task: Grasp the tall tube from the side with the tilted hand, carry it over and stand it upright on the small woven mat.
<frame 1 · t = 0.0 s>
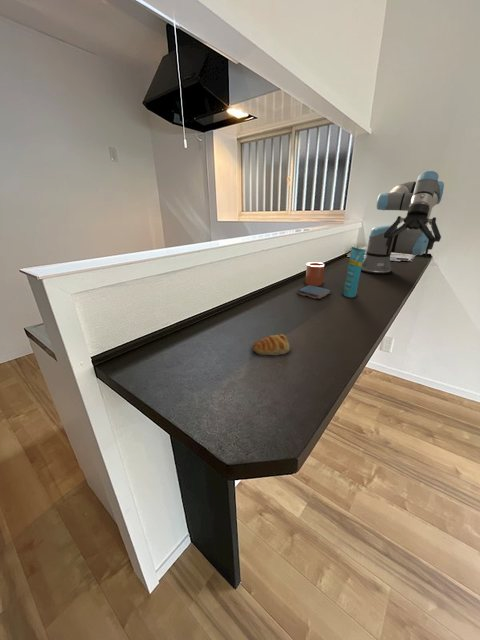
hand: (405, 254, 108), 15 cm above the breakfast bar, tool tilted 35°, fingers open, 13 cm apart
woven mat: (313, 294, 110), on the breakfast bar
pastry: (272, 350, 71), on the breakfast bar
cup: (313, 283, 123), on the breakfast bar
tube: (349, 296, 108), on the breakfast bar
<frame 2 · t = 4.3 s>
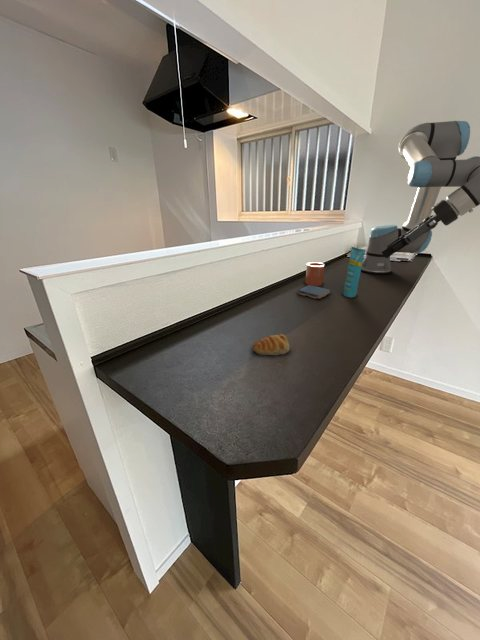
hand: (386, 252, 95), 19 cm above the breakfast bar, tool tilted 45°, fingers open, 13 cm apart
nothing on the breakfast bar moved.
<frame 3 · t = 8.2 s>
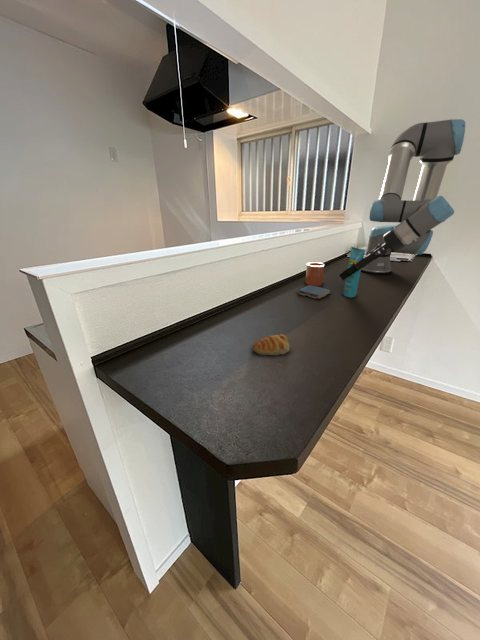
hand: (343, 275, 107), 8 cm above the breakfast bar, tool tilted 45°, fingers closed on tube, 5 cm apart
tube: (349, 296, 108), on the breakfast bar, touching gripper
everything else where it was.
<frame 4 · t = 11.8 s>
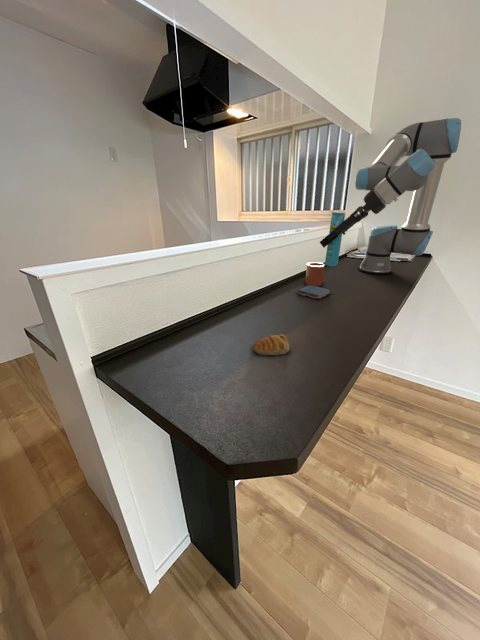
hand: (324, 243, 102), 20 cm above the breakfast bar, tool tilted 45°, fingers closed on tube, 5 cm apart
tube: (330, 265, 104), point 12 cm above the breakfast bar, touching gripper
everything else where it was.
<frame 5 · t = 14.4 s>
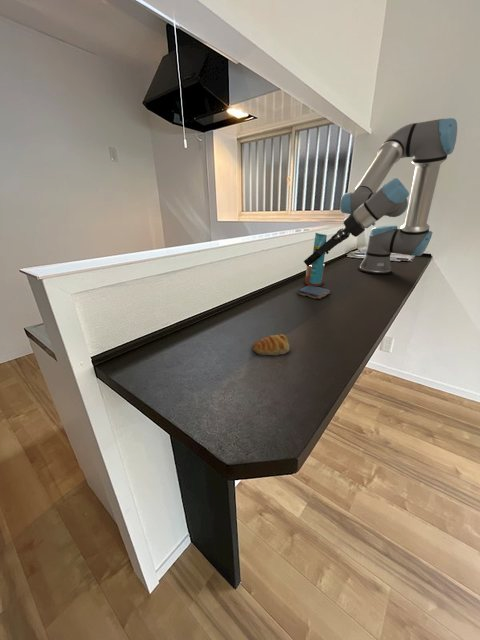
hand: (308, 262, 107), 13 cm above the breakfast bar, tool tilted 45°, fingers closed on tube, 5 cm apart
tube: (315, 282, 108), point 5 cm above the breakfast bar, touching gripper
everything else where it was.
when the fingers open (10 cm above the breakfast bar, at t = 15.7 s): tube stays where it is, resting on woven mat.
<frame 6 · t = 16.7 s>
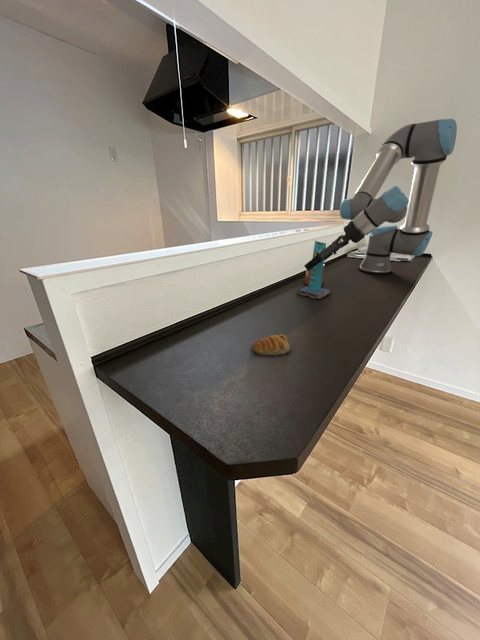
hand: (312, 264, 106), 12 cm above the breakfast bar, tool tilted 45°, fingers open, 13 cm apart
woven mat: (313, 294, 110), on the breakfast bar, touching tube
tube: (314, 289, 109), point 2 cm above the breakfast bar, touching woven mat
everything else where it was.
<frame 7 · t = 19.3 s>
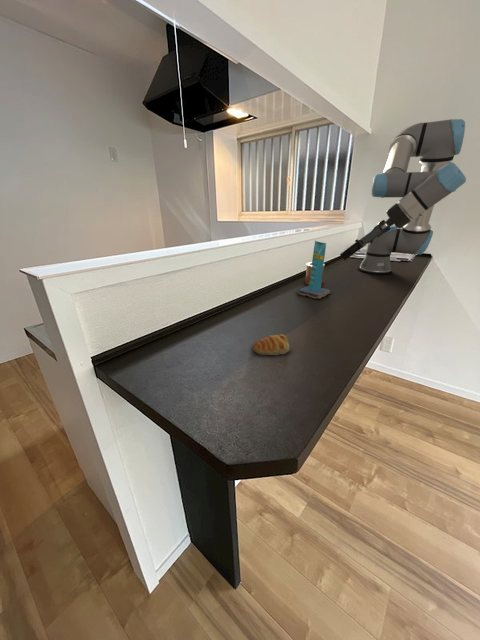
hand: (347, 253, 97), 18 cm above the breakfast bar, tool tilted 45°, fingers open, 13 cm apart
nothing on the breakfast bar moved.
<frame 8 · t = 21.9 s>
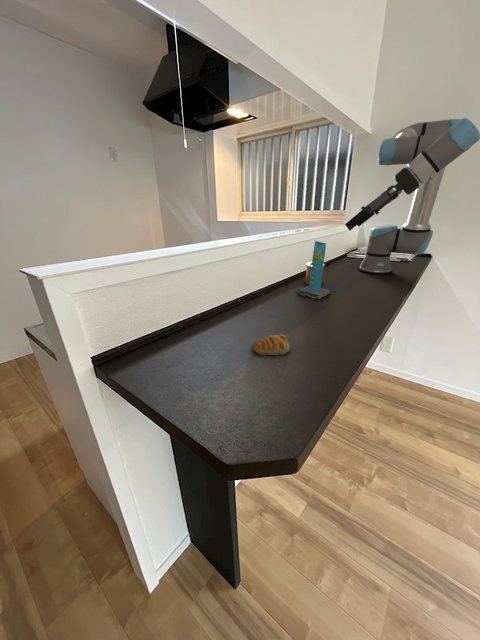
hand: (352, 225, 93), 28 cm above the breakfast bar, tool tilted 45°, fingers open, 13 cm apart
nothing on the breakfast bar moved.
at the end: tube inside the target area on the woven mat (0.1 cm from its centre), point 2.0 cm above the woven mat's base; tube tilted 0°; the gripper is holding nothing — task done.
